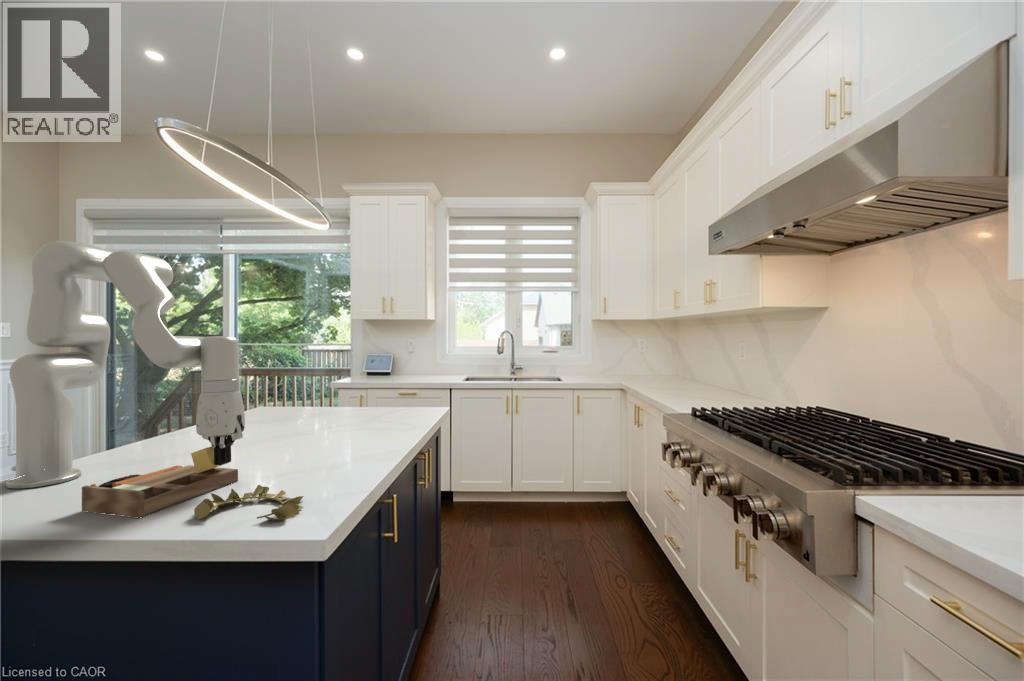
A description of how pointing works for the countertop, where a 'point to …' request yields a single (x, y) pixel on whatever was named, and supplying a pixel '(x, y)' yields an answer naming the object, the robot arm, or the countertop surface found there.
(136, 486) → the wooden tray
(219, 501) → the headpiece
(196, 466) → the block
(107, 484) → the toy gun
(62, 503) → the countertop surface
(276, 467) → the countertop surface
